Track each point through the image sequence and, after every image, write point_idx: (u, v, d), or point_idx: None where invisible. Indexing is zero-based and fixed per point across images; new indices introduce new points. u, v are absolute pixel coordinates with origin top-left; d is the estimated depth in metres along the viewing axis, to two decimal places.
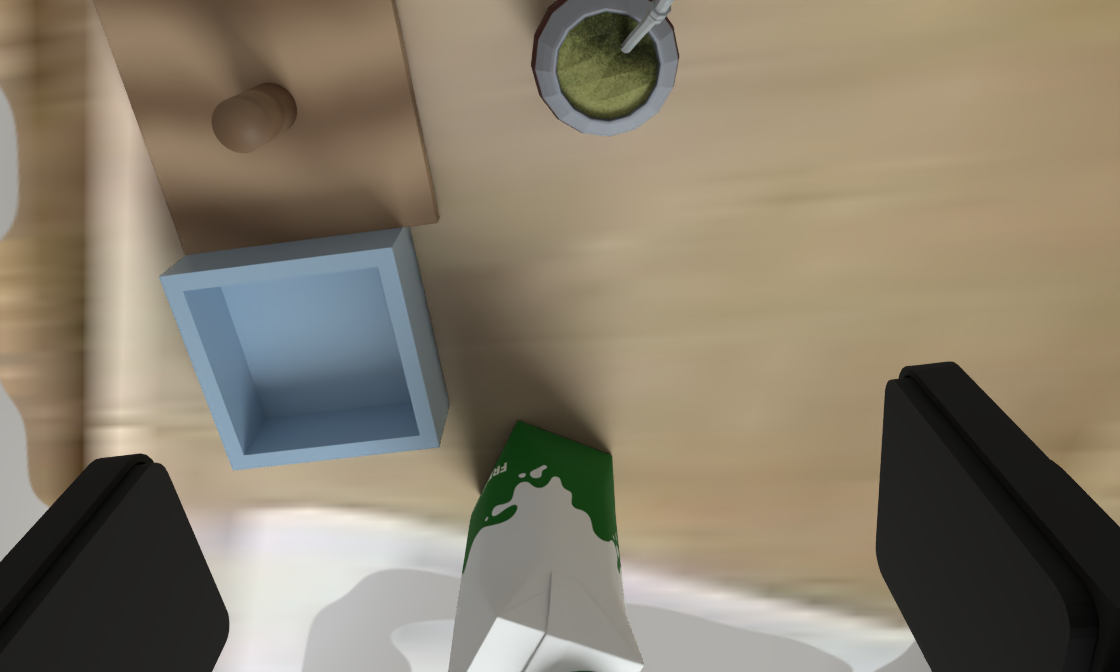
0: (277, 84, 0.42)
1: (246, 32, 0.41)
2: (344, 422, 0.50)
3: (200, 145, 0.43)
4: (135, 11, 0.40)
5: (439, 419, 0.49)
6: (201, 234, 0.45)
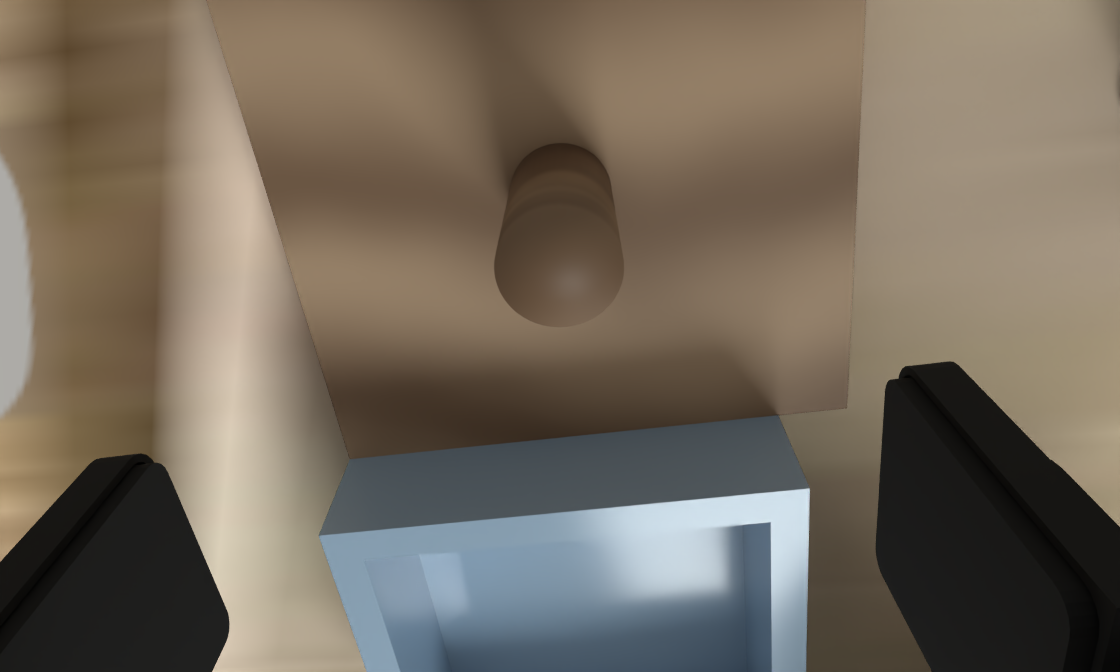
0: (578, 147, 0.20)
1: (529, 36, 0.18)
2: None
3: (400, 265, 0.21)
4: None
5: None
6: (384, 425, 0.23)
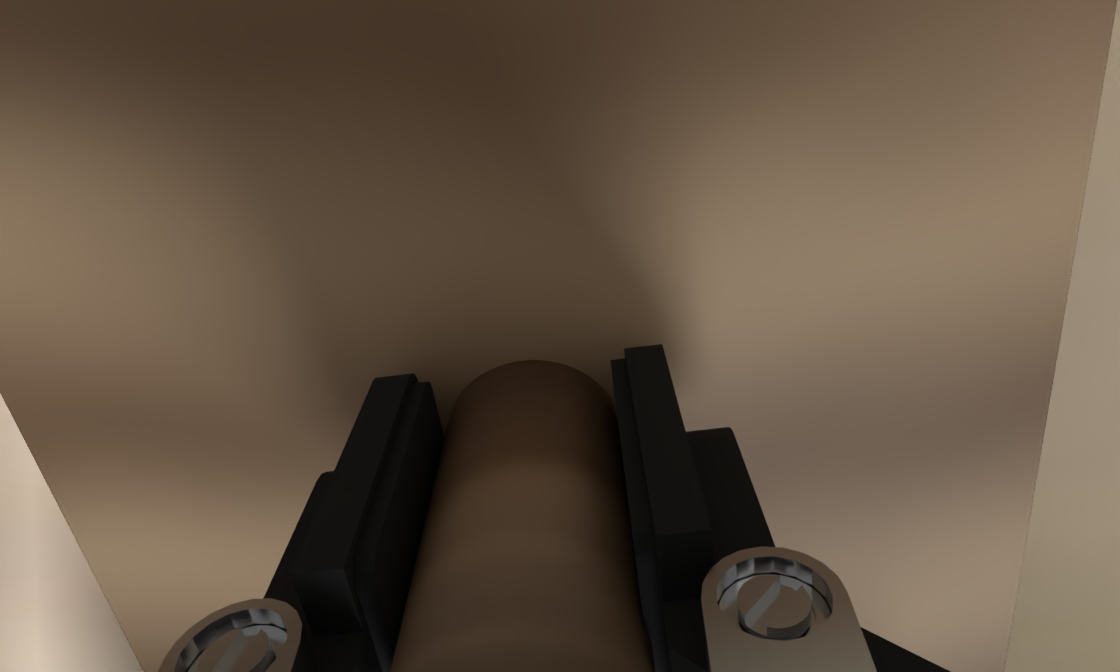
0: (563, 366, 0.11)
1: (471, 186, 0.10)
2: None
3: (265, 543, 0.12)
4: (14, 104, 0.09)
5: None
6: None
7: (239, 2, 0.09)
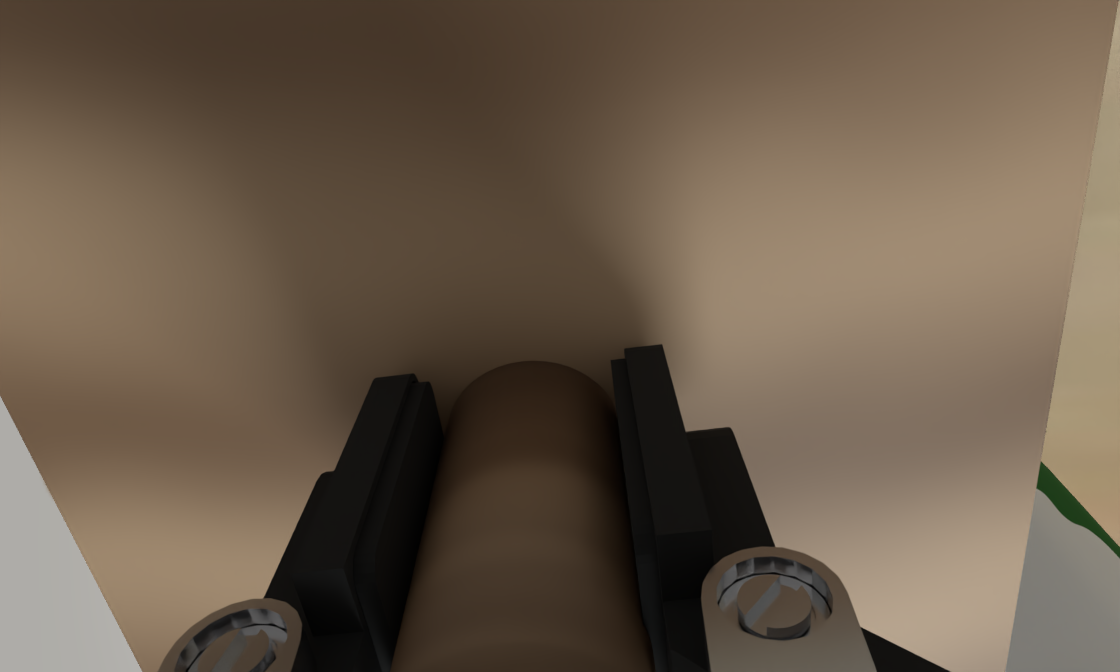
0: (563, 367, 0.11)
1: (471, 186, 0.10)
2: None
3: (265, 544, 0.12)
4: (12, 105, 0.09)
5: None
6: None
7: (238, 2, 0.09)
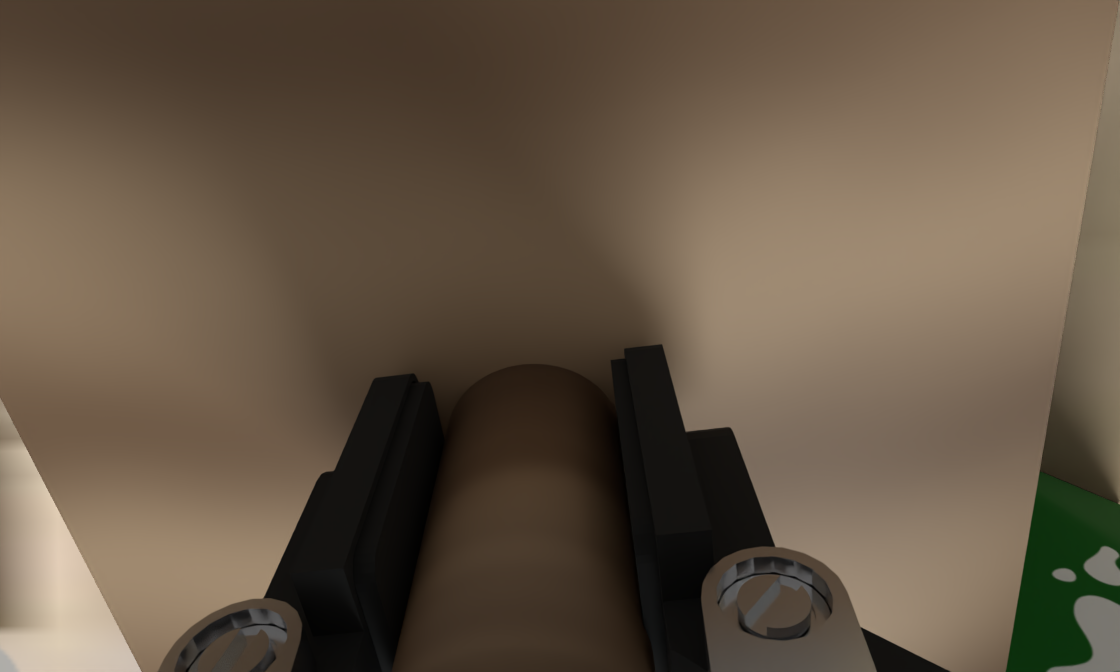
0: (563, 369, 0.11)
1: (472, 190, 0.10)
2: None
3: (265, 547, 0.12)
4: (13, 108, 0.09)
5: None
6: None
7: (239, 6, 0.09)
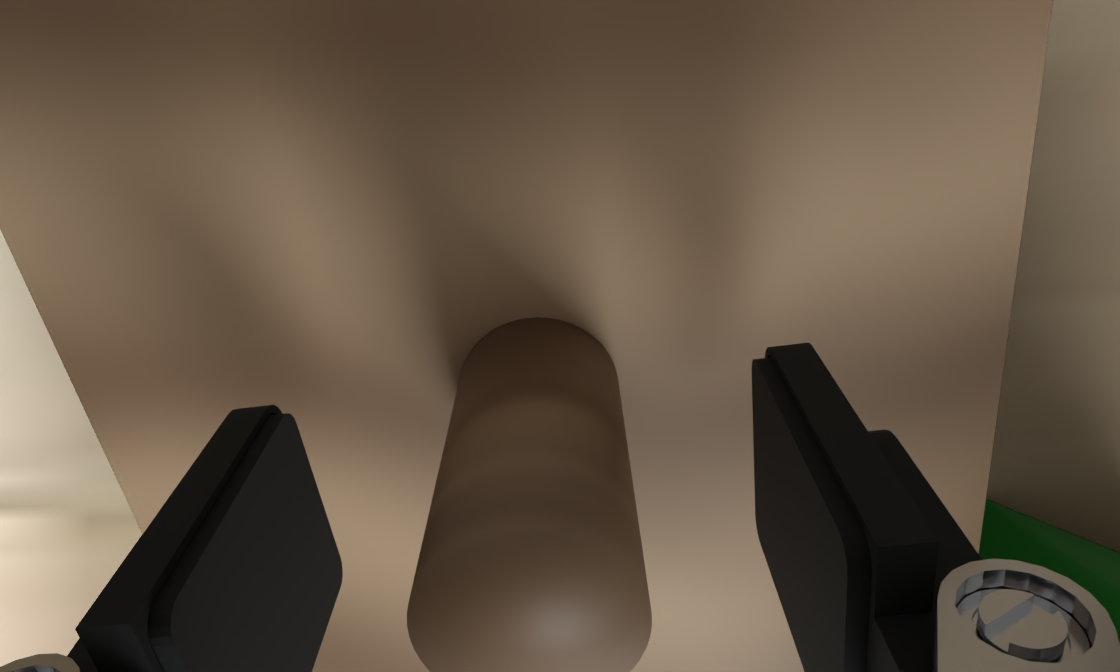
0: (565, 323, 0.12)
1: (483, 157, 0.11)
2: None
3: None
4: (76, 84, 0.11)
5: None
6: None
7: None
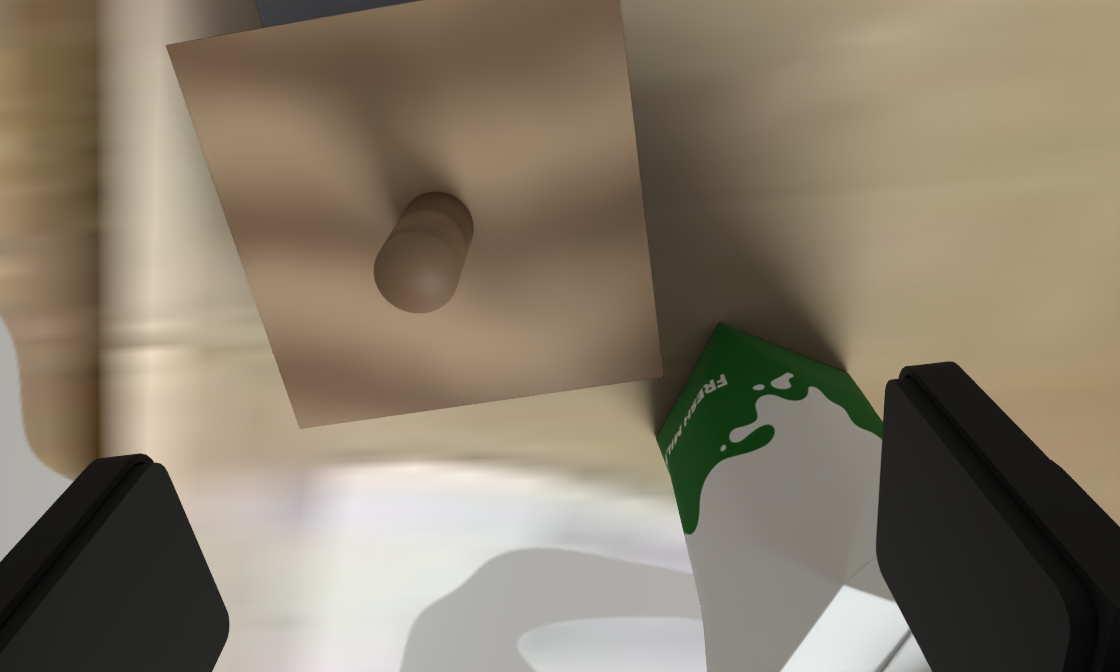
0: (446, 193, 0.28)
1: (406, 120, 0.27)
2: None
3: (328, 281, 0.29)
4: (241, 95, 0.27)
5: None
6: (324, 401, 0.32)
7: (322, 57, 0.26)
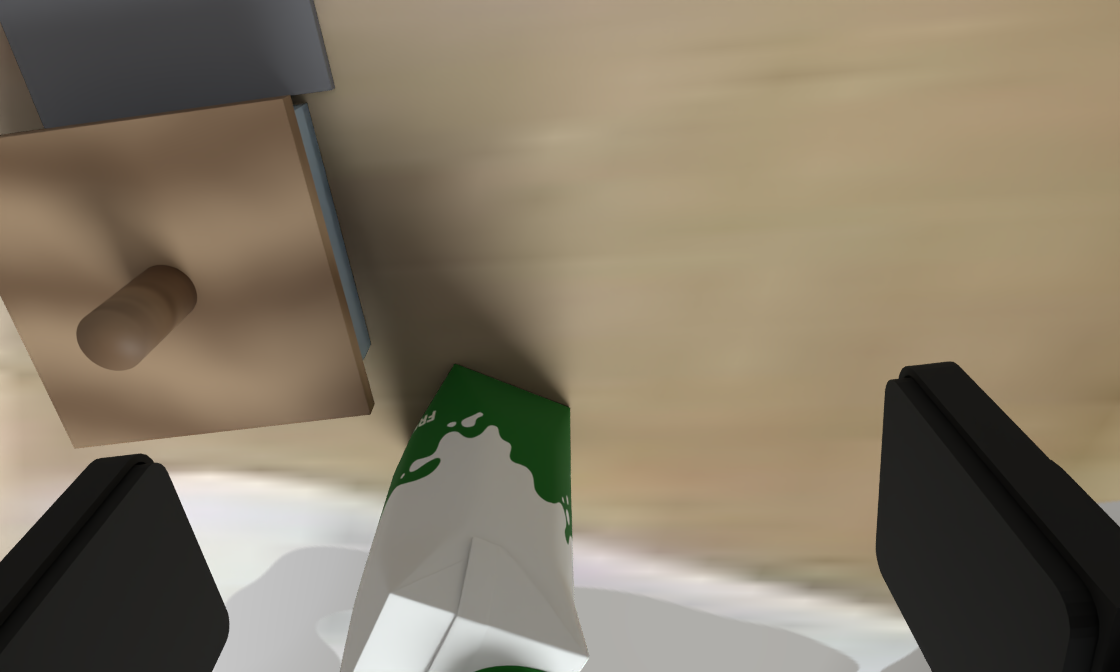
0: (171, 266, 0.35)
1: (130, 210, 0.33)
2: None
3: None
4: None
5: None
6: (91, 426, 0.38)
7: (56, 160, 0.33)
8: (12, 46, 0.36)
